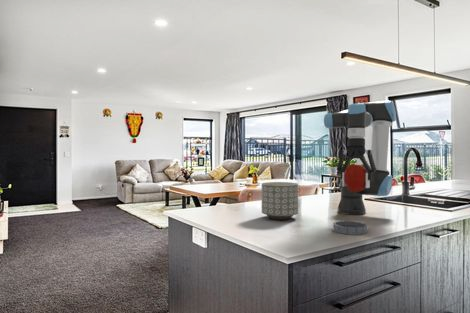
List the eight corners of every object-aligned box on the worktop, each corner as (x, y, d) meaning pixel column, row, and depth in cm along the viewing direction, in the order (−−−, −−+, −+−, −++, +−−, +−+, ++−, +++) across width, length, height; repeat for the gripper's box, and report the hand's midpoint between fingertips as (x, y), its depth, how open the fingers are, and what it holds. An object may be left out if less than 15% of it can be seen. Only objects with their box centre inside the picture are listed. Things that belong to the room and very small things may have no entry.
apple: (356, 193, 146) (356, 161, 147) (339, 191, 155) (339, 161, 155) (372, 192, 151) (373, 161, 152) (355, 190, 160) (355, 161, 160)
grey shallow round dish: (327, 231, 148) (327, 224, 148) (341, 225, 158) (341, 219, 158) (359, 236, 138) (359, 229, 138) (371, 230, 149) (371, 223, 149)
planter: (302, 216, 181) (302, 182, 181) (292, 223, 164) (292, 186, 164) (268, 213, 189) (268, 181, 189) (256, 220, 172) (256, 184, 172)
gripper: (329, 138, 158) (328, 185, 158) (378, 136, 143) (378, 189, 143) (336, 139, 164) (335, 185, 164) (384, 137, 149) (384, 188, 149)
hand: (355, 187), depth 153 cm, fingers closed on apple, 10 cm apart
